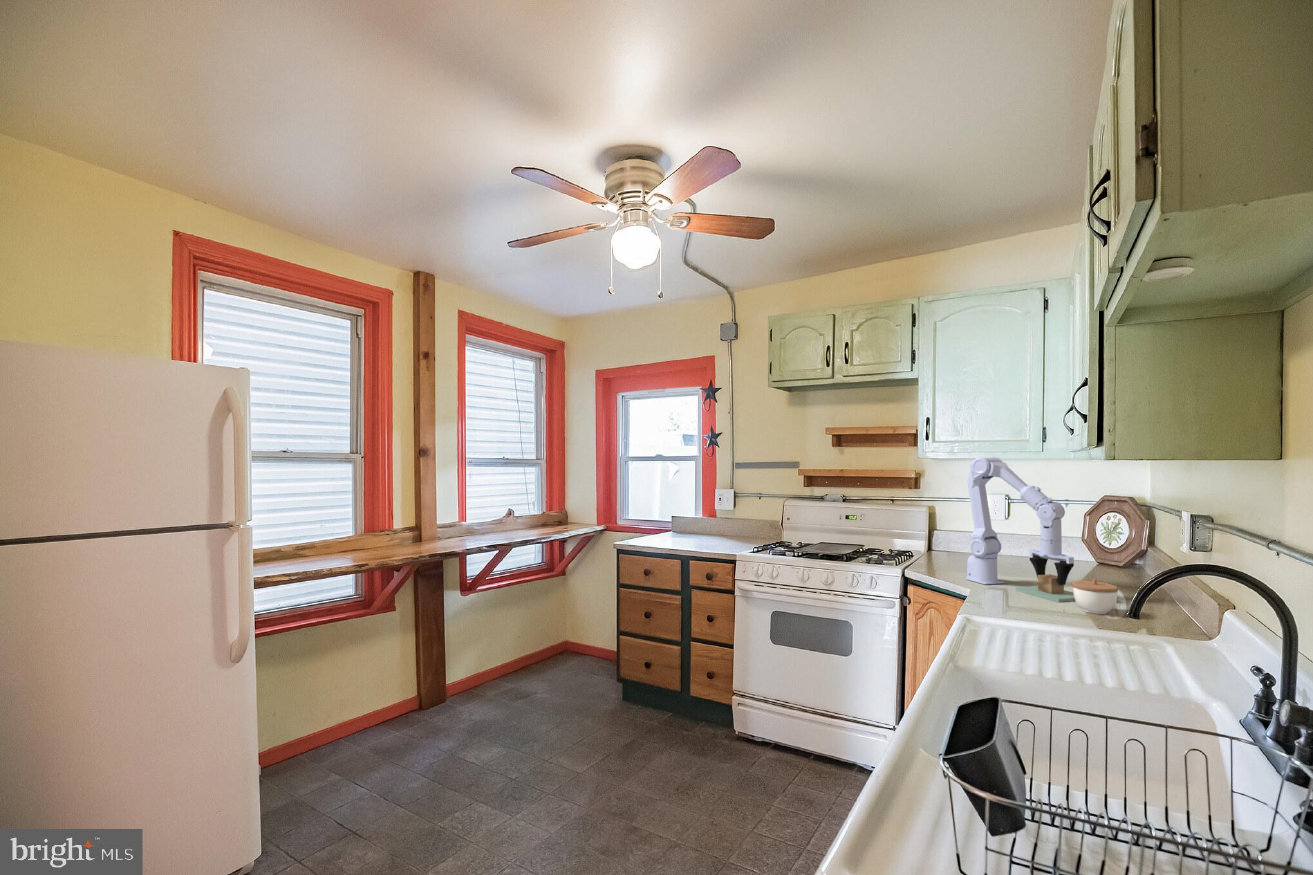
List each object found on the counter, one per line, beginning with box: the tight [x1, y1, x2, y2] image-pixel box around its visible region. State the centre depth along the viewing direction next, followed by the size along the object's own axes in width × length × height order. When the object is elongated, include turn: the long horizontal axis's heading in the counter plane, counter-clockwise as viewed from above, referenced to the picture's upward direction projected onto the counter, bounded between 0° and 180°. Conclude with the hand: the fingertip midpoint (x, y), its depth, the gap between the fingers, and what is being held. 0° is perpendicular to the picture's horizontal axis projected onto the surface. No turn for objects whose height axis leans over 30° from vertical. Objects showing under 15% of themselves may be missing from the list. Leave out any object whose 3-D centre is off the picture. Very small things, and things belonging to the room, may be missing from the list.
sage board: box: [1015, 585, 1076, 603], centre depth 197 cm, size 16×12×1 cm
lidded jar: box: [1072, 578, 1119, 615], centre depth 177 cm, size 11×11×9 cm
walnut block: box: [1037, 573, 1065, 594], centre depth 197 cm, size 5×5×5 cm
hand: (1051, 582), depth 197 cm, fingers open, 7 cm apart
